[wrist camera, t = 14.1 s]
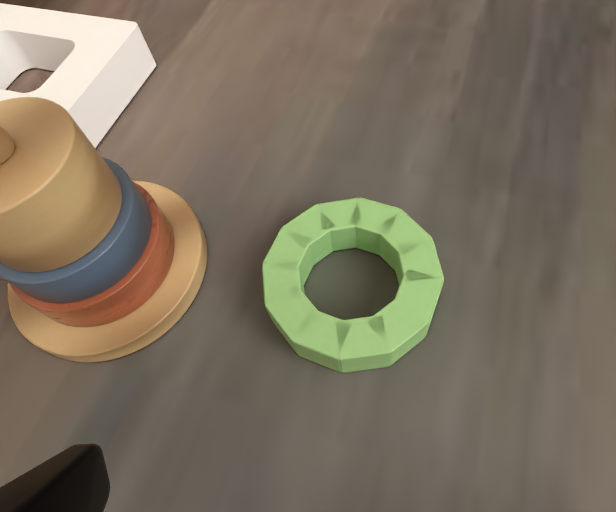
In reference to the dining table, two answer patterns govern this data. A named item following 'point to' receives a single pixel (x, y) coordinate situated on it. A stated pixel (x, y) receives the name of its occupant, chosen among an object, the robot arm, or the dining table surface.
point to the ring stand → (88, 241)
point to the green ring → (361, 331)
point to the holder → (75, 62)
